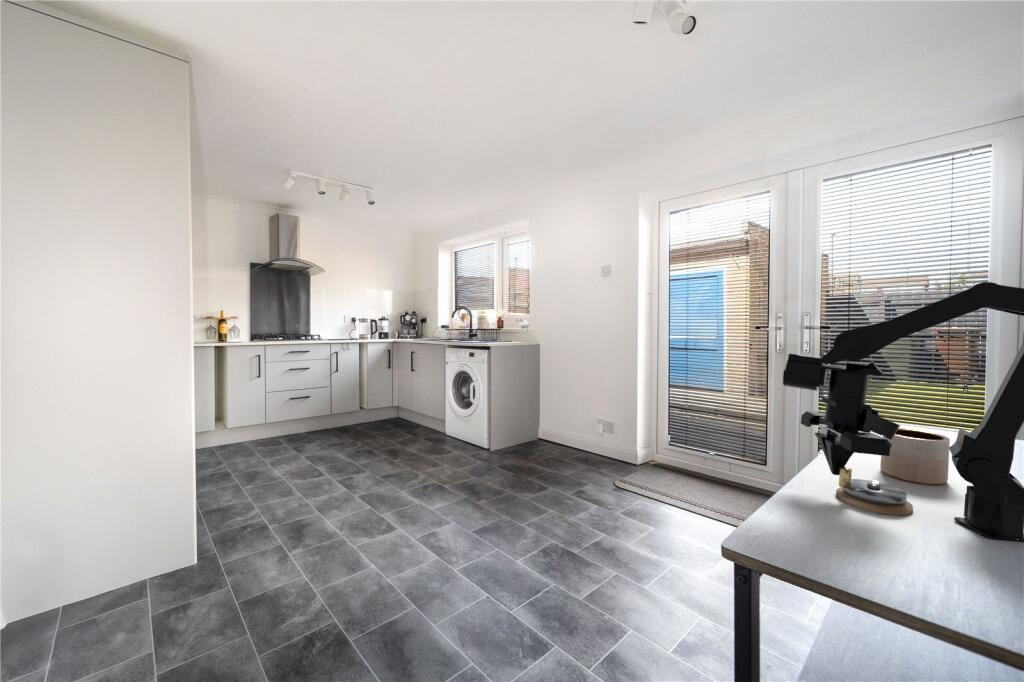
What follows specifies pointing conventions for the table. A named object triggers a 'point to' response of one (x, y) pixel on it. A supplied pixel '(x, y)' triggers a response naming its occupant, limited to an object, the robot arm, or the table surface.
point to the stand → (875, 505)
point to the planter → (917, 457)
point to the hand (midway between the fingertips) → (835, 474)
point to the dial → (870, 490)
